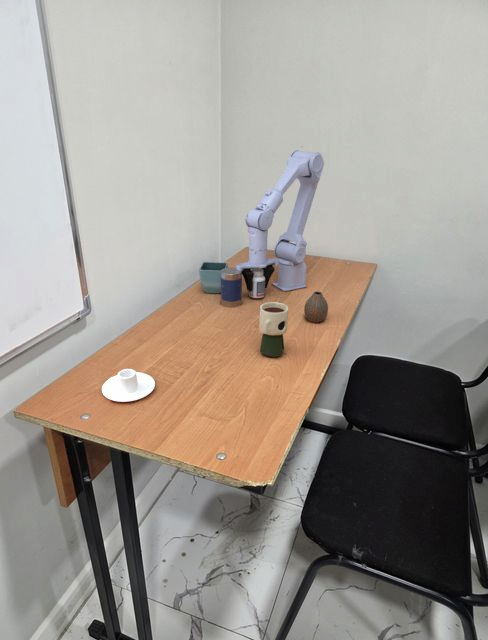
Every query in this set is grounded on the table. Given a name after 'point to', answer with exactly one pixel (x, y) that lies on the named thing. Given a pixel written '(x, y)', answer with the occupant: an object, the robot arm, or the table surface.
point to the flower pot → (211, 276)
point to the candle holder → (128, 386)
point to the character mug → (273, 328)
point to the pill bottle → (258, 284)
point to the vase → (316, 308)
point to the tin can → (231, 287)
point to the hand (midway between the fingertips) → (256, 288)
